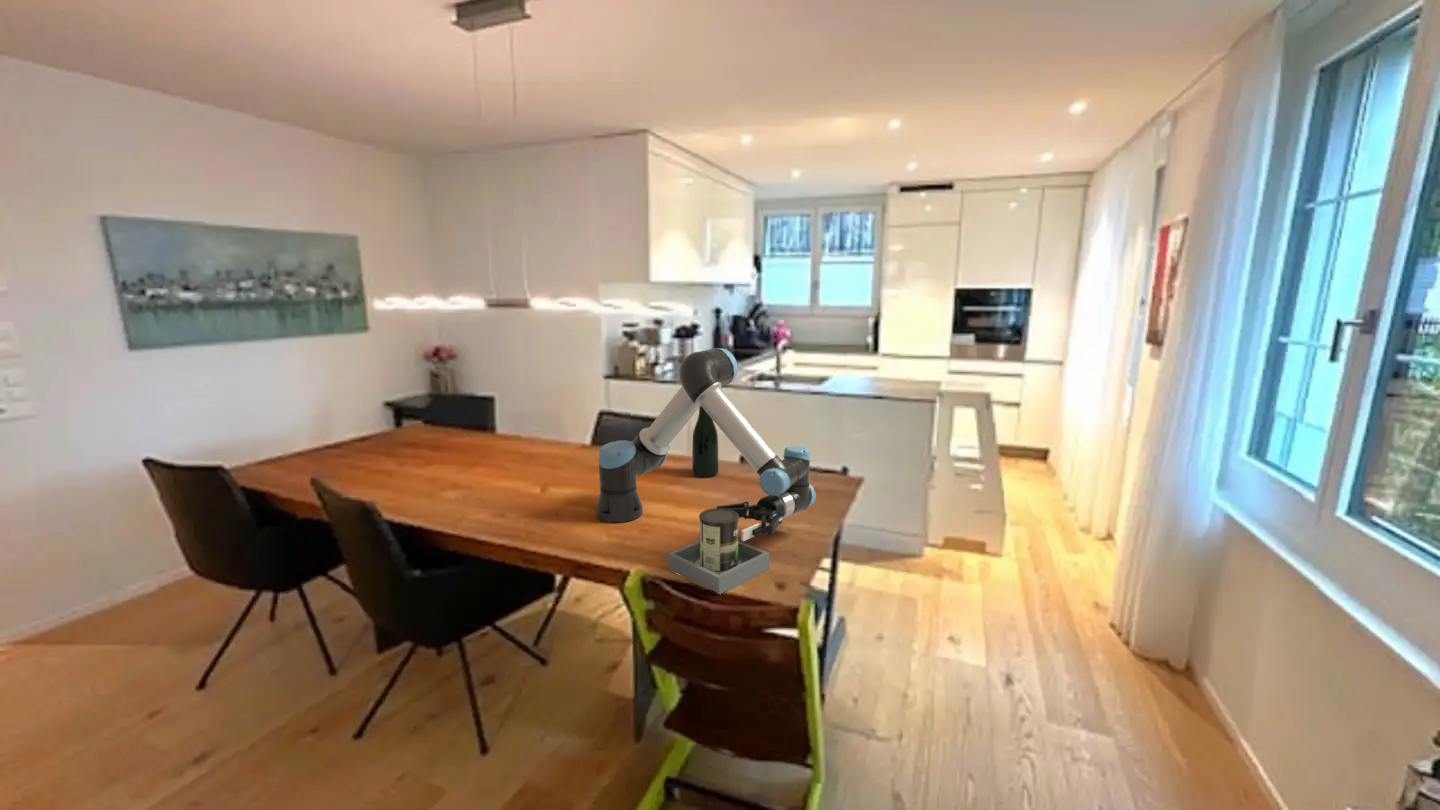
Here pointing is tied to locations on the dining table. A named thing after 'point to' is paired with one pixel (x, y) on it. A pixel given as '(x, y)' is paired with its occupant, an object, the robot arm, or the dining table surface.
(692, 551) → the walled box
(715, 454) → the beer bottle
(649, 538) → the dining table surface
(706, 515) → the coffee can
